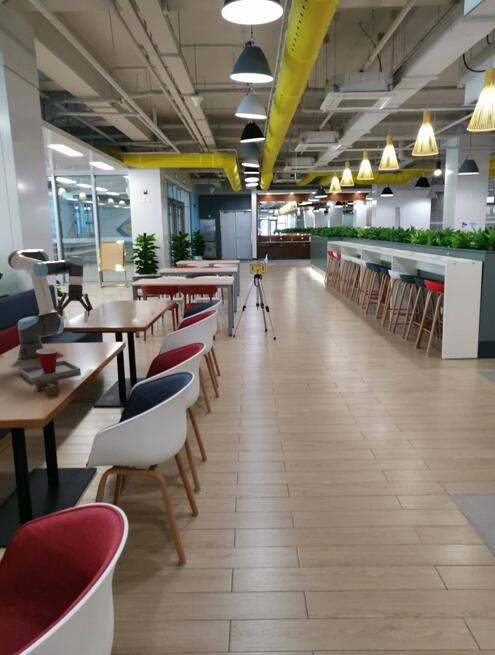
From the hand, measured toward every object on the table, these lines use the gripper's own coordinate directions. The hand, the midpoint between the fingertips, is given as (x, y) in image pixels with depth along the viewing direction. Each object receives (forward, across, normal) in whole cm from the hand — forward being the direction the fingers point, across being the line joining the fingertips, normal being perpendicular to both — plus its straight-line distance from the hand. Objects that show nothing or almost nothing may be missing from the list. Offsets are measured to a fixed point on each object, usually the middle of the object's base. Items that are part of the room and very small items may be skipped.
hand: (74, 322), depth 280 cm
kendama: (+30, +30, +40) cm, 58 cm away
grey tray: (+26, +18, +11) cm, 34 cm away
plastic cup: (+26, +18, +11) cm, 33 cm away
